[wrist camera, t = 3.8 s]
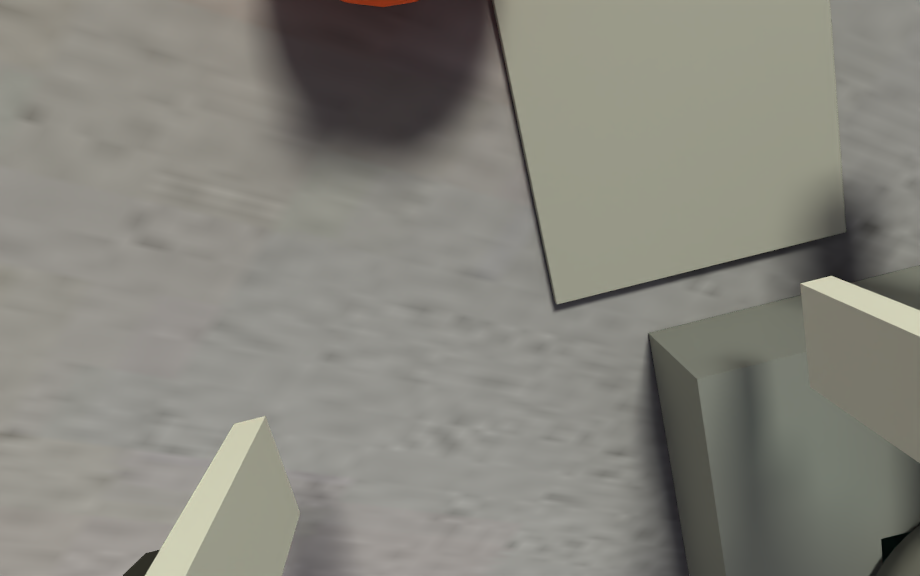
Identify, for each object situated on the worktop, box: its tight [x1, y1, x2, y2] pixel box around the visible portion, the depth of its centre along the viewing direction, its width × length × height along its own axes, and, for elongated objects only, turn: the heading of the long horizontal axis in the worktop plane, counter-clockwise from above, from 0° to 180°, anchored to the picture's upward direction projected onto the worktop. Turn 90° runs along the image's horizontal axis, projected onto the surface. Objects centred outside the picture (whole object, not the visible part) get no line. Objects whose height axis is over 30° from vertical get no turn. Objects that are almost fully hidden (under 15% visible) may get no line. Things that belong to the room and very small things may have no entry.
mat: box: [492, 0, 846, 304], centre depth 20 cm, size 10×10×1 cm
